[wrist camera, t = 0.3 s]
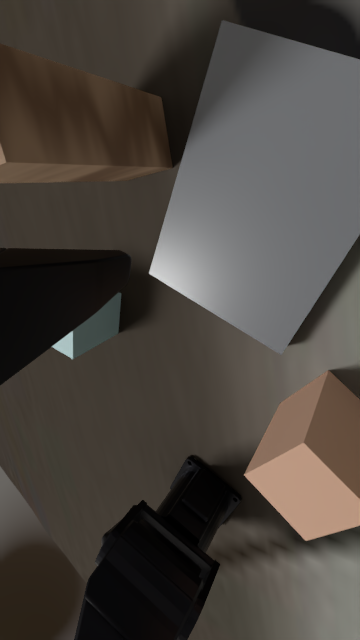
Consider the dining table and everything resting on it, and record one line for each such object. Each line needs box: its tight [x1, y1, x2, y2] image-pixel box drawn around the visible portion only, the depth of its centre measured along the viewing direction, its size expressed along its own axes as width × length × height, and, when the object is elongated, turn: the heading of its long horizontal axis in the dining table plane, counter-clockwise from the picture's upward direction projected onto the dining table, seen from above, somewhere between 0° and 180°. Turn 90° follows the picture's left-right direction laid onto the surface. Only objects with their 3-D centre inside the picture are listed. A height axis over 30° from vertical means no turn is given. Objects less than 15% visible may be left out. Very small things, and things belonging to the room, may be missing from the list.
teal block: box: [52, 292, 121, 359], centre depth 31 cm, size 4×4×6 cm
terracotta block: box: [244, 370, 360, 541], centre depth 21 cm, size 5×5×8 cm
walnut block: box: [0, 44, 173, 183], centre depth 19 cm, size 4×4×13 cm
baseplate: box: [149, 20, 360, 355], centre depth 21 cm, size 16×12×2 cm
